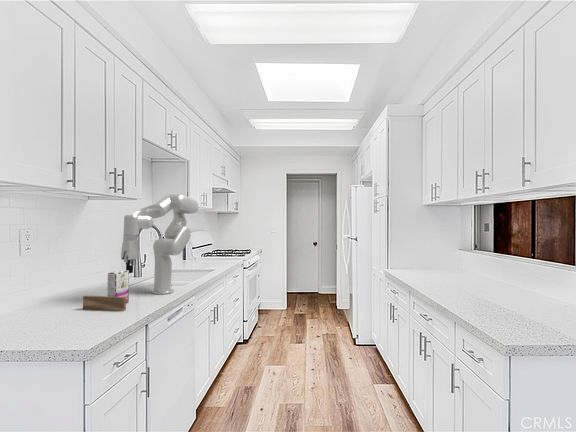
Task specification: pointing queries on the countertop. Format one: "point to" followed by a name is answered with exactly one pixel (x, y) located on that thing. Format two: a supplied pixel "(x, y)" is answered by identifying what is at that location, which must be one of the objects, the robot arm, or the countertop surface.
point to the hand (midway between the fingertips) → (129, 272)
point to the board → (104, 303)
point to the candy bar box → (118, 284)
